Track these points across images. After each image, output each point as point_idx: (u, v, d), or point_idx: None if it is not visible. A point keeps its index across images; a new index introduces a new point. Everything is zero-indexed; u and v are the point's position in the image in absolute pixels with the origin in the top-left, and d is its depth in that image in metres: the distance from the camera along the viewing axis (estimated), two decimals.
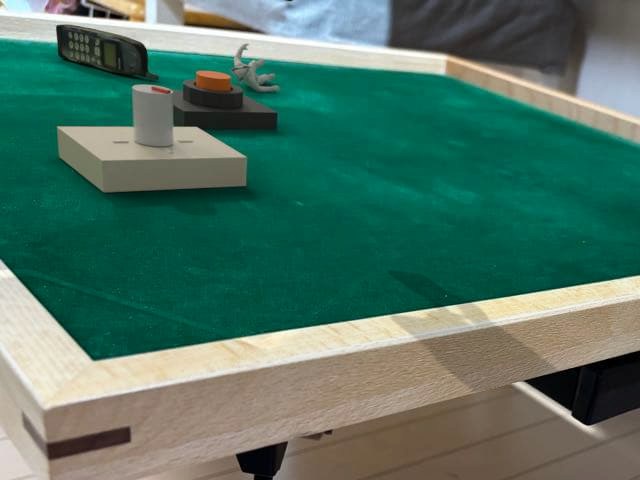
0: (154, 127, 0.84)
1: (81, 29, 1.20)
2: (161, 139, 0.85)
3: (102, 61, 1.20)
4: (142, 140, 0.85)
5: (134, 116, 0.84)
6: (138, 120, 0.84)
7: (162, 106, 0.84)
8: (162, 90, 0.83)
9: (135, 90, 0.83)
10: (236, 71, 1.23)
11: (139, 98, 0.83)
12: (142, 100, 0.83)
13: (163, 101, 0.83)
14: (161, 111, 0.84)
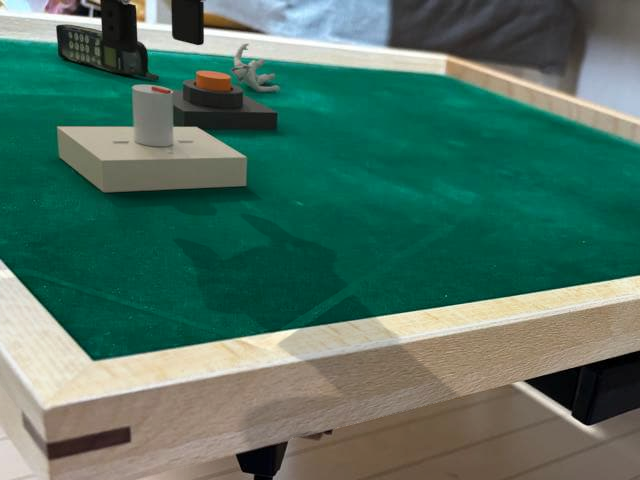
0: (154, 127, 0.84)
1: (81, 29, 1.20)
2: (161, 139, 0.85)
3: (102, 61, 1.20)
4: (142, 140, 0.85)
5: (134, 116, 0.84)
6: (138, 120, 0.84)
7: (162, 106, 0.84)
8: (162, 90, 0.83)
9: (135, 90, 0.83)
10: (236, 71, 1.23)
11: (139, 98, 0.83)
12: (142, 100, 0.83)
13: (163, 101, 0.83)
14: (161, 111, 0.84)
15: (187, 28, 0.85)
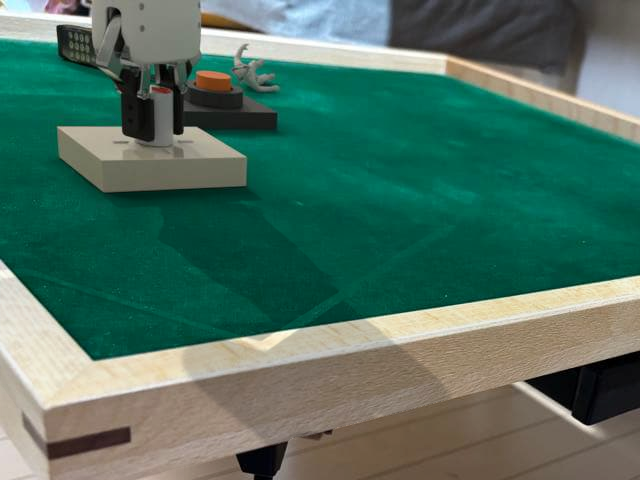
0: None
1: (81, 29, 1.20)
2: (161, 139, 0.85)
3: None
4: None
5: None
6: None
7: (162, 106, 0.84)
8: (162, 90, 0.83)
9: None
10: (236, 71, 1.23)
11: None
12: None
13: (163, 101, 0.83)
14: (161, 111, 0.84)
15: None
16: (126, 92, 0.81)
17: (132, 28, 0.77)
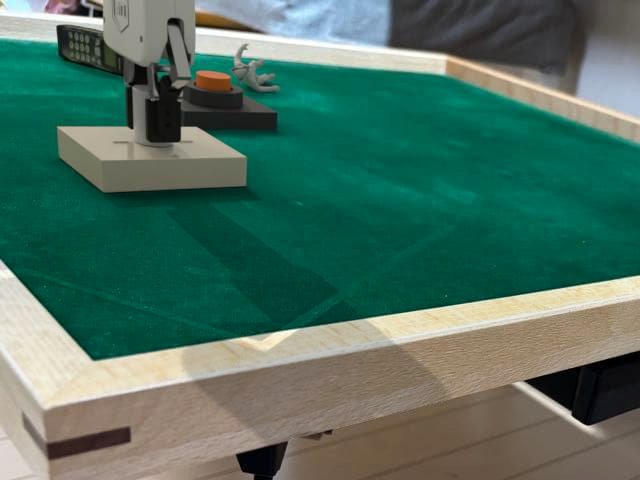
0: None
1: (81, 29, 1.20)
2: None
3: (102, 61, 1.20)
4: None
5: None
6: None
7: None
8: None
9: None
10: (236, 71, 1.23)
11: None
12: None
13: None
14: None
15: None
16: (167, 98, 0.82)
17: (193, 35, 0.80)
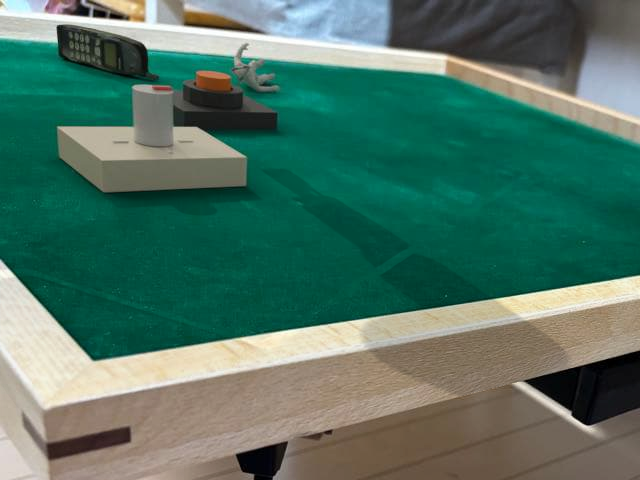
0: (171, 126, 0.85)
1: (81, 29, 1.20)
2: (173, 136, 0.87)
3: (102, 61, 1.20)
4: (162, 142, 0.85)
5: (150, 121, 0.84)
6: (157, 123, 0.84)
7: None
8: (167, 88, 0.85)
9: (153, 94, 0.83)
10: (236, 71, 1.23)
11: (159, 101, 0.83)
12: (163, 103, 0.83)
13: None
14: None
15: None
16: None
17: None
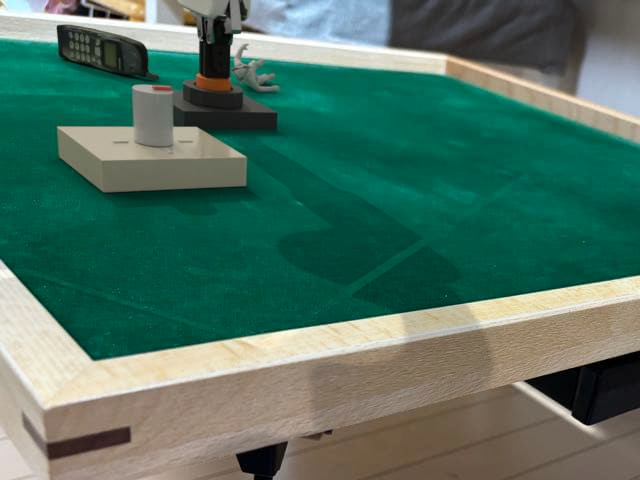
0: (171, 126, 0.85)
1: (81, 29, 1.20)
2: (173, 136, 0.87)
3: (102, 61, 1.20)
4: (162, 142, 0.85)
5: (150, 121, 0.84)
6: (157, 123, 0.84)
7: None
8: (167, 88, 0.85)
9: (153, 94, 0.83)
10: (236, 71, 1.23)
11: (159, 101, 0.83)
12: (163, 103, 0.83)
13: None
14: None
15: None
16: (221, 42, 1.04)
17: None
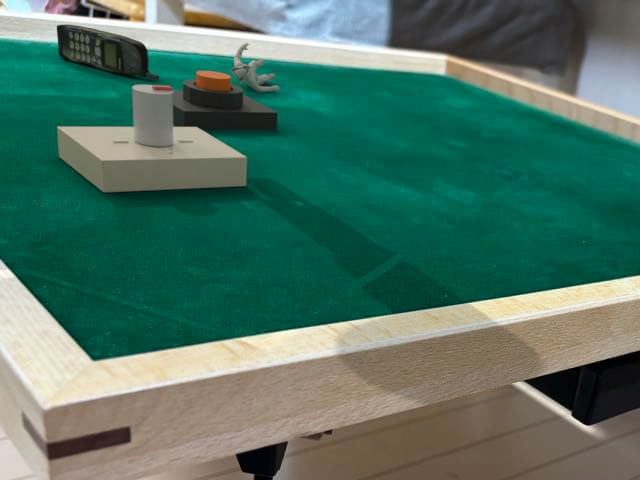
0: (171, 126, 0.85)
1: (82, 29, 1.20)
2: (173, 136, 0.87)
3: (102, 61, 1.20)
4: (162, 142, 0.85)
5: (150, 121, 0.84)
6: (157, 123, 0.84)
7: None
8: (167, 88, 0.85)
9: (153, 94, 0.83)
10: (236, 71, 1.23)
11: (159, 101, 0.83)
12: (163, 103, 0.83)
13: None
14: None
15: None
16: None
17: None
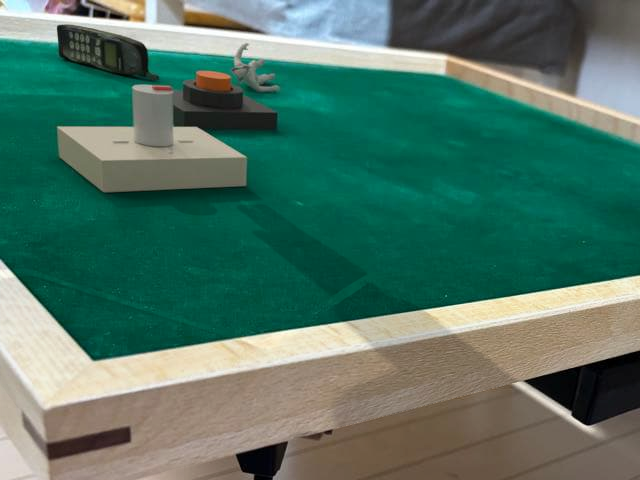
0: (171, 126, 0.85)
1: (82, 29, 1.20)
2: (173, 136, 0.87)
3: (102, 61, 1.20)
4: (162, 142, 0.85)
5: (150, 121, 0.84)
6: (157, 123, 0.84)
7: None
8: (167, 88, 0.85)
9: (153, 94, 0.83)
10: (236, 71, 1.23)
11: (159, 101, 0.83)
12: (163, 103, 0.83)
13: None
14: None
15: None
16: None
17: None
